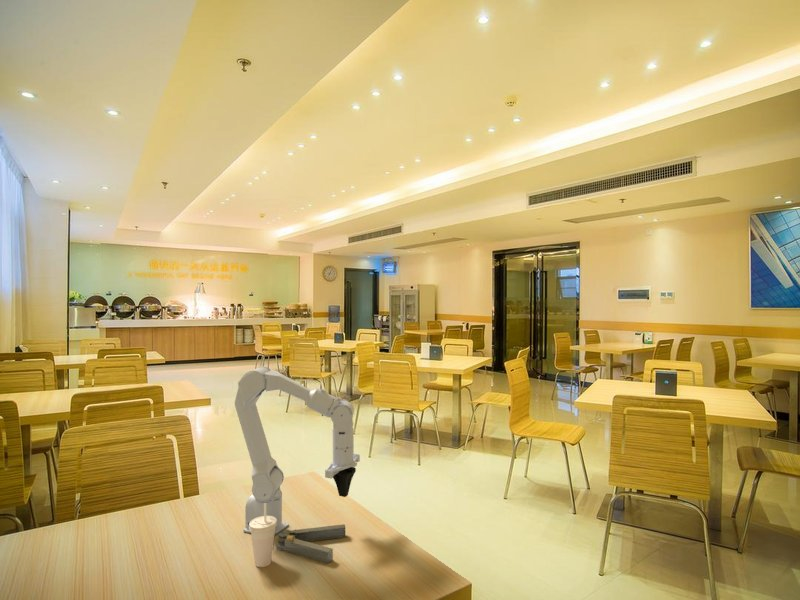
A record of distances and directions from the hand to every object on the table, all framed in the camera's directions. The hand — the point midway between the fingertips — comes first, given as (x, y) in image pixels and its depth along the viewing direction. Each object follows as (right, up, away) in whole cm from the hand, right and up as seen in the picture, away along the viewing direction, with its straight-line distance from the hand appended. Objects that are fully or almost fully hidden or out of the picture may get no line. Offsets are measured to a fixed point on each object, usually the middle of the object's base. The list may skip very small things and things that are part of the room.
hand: (343, 495), depth 122 cm
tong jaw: (-7, -9, -6) cm, 13 cm away
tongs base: (-8, -9, -11) cm, 17 cm away
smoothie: (-17, -9, -16) cm, 25 cm away
